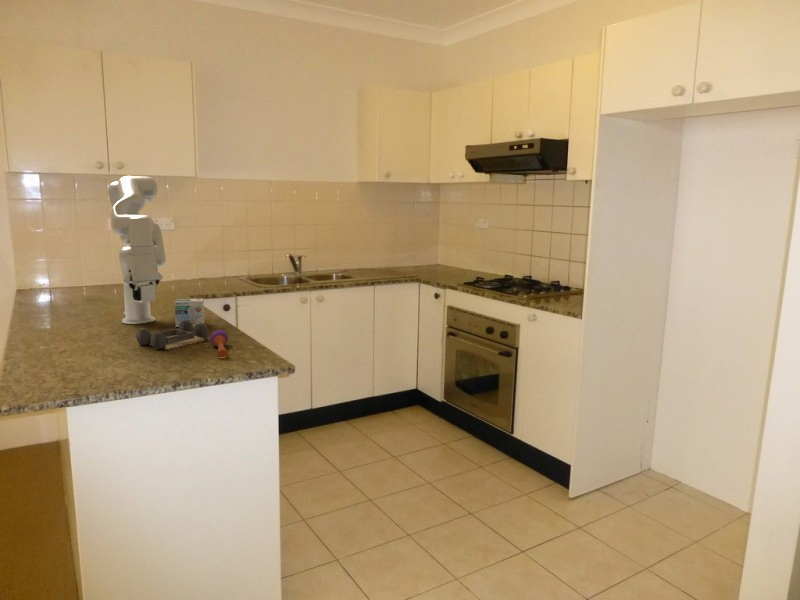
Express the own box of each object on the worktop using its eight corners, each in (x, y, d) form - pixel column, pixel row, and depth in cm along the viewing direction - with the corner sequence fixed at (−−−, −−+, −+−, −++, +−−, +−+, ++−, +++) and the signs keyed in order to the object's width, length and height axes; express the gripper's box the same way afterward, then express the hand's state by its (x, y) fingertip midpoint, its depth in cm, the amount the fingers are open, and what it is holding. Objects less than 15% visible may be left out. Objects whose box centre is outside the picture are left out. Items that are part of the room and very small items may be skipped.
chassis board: (135, 343, 204) (134, 327, 203) (182, 334, 219) (181, 318, 218) (161, 351, 195) (160, 333, 193) (208, 340, 210) (208, 324, 209)
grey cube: (133, 300, 213) (132, 284, 212) (147, 298, 218) (146, 283, 217) (142, 302, 210) (141, 286, 209) (155, 300, 215) (155, 284, 213)
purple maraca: (211, 348, 184) (208, 330, 202) (215, 365, 186) (212, 345, 204) (229, 343, 186) (225, 326, 204) (234, 360, 188) (229, 341, 206)
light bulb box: (175, 328, 228) (173, 301, 227) (177, 324, 235) (175, 298, 233) (203, 327, 231) (202, 300, 229) (204, 323, 238) (203, 297, 236)
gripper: (157, 248, 219) (159, 294, 223) (113, 251, 206) (116, 301, 209) (168, 249, 215) (171, 297, 219) (124, 253, 201) (128, 303, 205)
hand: (144, 298), depth 214 cm, fingers closed on grey cube, 5 cm apart
